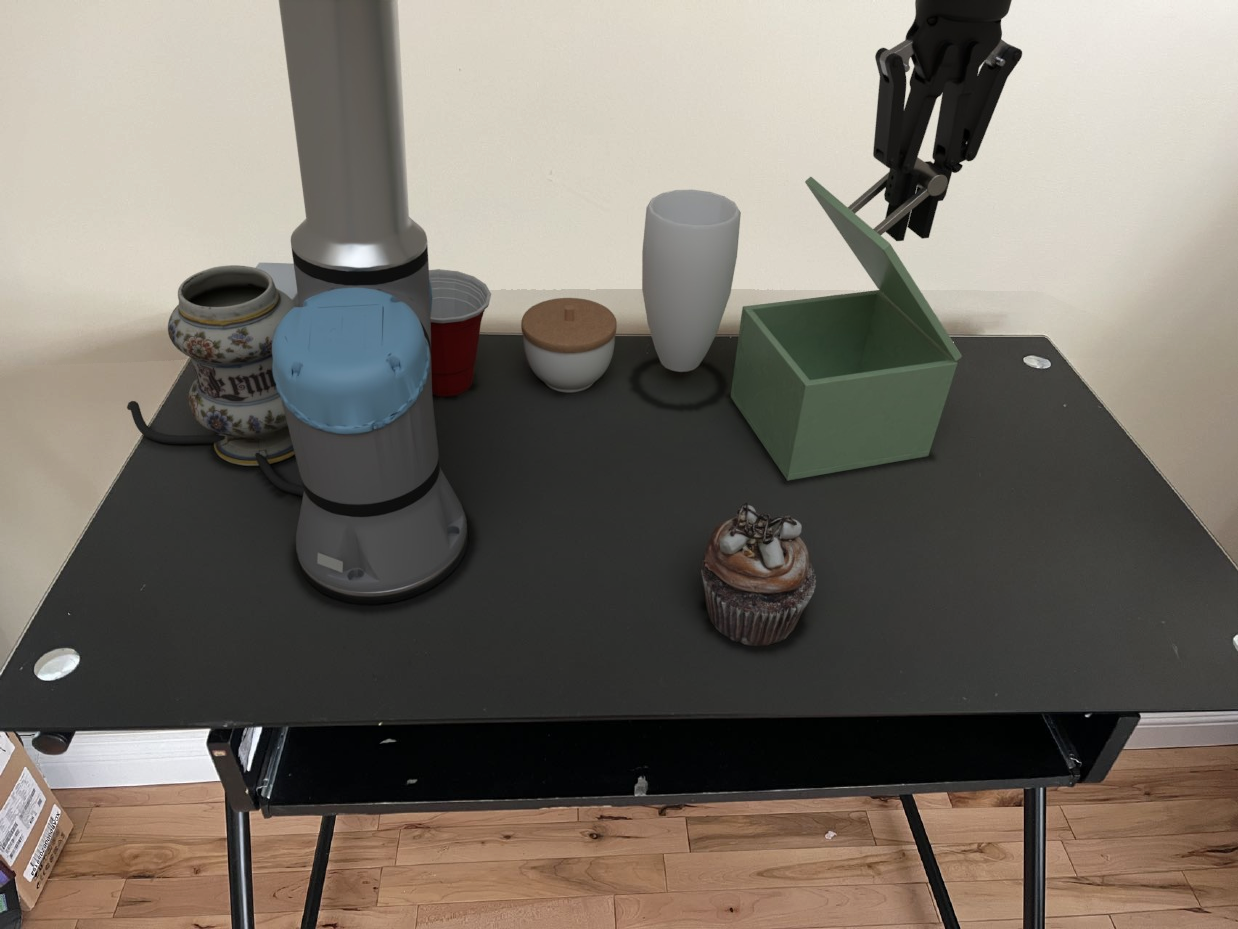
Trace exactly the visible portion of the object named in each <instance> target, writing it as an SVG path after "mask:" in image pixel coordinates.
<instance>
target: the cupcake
mask: <svg viewBox="0 0 1238 929" xmlns="http://www.w3.org/2000/svg"><path fill="white" fill-rule="evenodd" d="M802 526H803V525H802V524H801V523H800V521H799V520H796V519H794V518H792V516H791V515H786V516H777V517H774V518H772V515H770V514H769V513H761V514H759V513H758V512H757V511H756V509H755V508H754V506H752V505H749V502H746V503H743V504H742V505H740V507H739V509H738V510H737V513H736V517H733V518H729V519H726V520H725V521H723V522H721V523H720V524H719V525H717V527H715V529H714V530H713V531H712V532H711V535H710V537H709V539H708V541H707V542H708V543H707V545H706V548H705V550H704V553H703V557H702V565H701V566H702V567H701V571H700V574H701V577H702V584H703V590H704V598H705V606H706V611H707V614H708V618H709V621H710V623H711V624H712V625H713V626H714V627H715V629H716V630H717V631H718V632H719V633H720V634H722V635H723V636H725V637H726V638H728V639H730V640H731V641H733V642H737V643H740V644H742V645H745V646H749V647H765V646H766V647H768V646H771V645H774V644H778V643H780V642H781V641H783V640H786V638H787V637H788V636H789V635H790V634H791V633H792V632H793V631H794V629H795V627H796V626H797V623H798V622H799V620H800V617H801V616H802V614H803V612H804V610H805V608H806V607H807V605H808V604H809V602H810V601H811V598H812V597H813V595H814V593H815V590H816V586H817V585H816V582H817V579H816V577H817V575H816V574H815V573H814V572H815V569H814V568H813V566H812V565H813V563H811V562H810V558H809V556H810V555H809V550H808V547H807V545H806V544H805V542H804V541H803V539H802V538H801V537H800V535H801V533H802Z"/></svg>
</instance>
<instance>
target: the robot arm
mask: <svg viewBox="0 0 1238 929" xmlns="http://www.w3.org/2000/svg"><path fill="white" fill-rule="evenodd" d="M1012 1H1013V0H915V2H914V6H915V16H914V19H913V22H912V23H911V26H910V27H909V28H908V30H907V31H906V34H905V38H904V40H903V41H902V42H900V43H899V44H896V45H895V46H893V47H892V48H890V49H888V48H886V47H880V48H879V49H877V51H876V52H875V55H874V58H875V63H876V67H877V72H878V74H879V82H878V93H877V106H876V114H875V115H876V117H875V128H874V139H873V151H872V156H873V158H874V159H875V160H877V161H878V162H880V163H881V164H882V165H883V166H885V167H886V168H888V169H889V170H888V172H889V175H888V180H887V185H886V188H885V189H884V194H883V196H884V201H886V202H887V203H888V205H887V209H886V212H885V218H884V219H886V218H887V217H888V216H889V215H890V214H892V213H893V212H894V211H895V210H896V209H898V208H899V207H900V206H901V205H902V204H903V203H905V202H906V201H907V200H908V199H909V198H911V197H912V196H913V195H914V194H915V193H917V192H918V191H919V190H920V189H921V188H920V187H918V186H917V185H918V180H919V177H920V174H919V173H918V172H916V171H915V170H913V169H914V166H915V163H916V160H917V157H918V158H919V153H920V151H921V148H922V145H923V141H924V139H925V136H926V133H927V129H928V126H929V123H930V120H931V118H932V114H933V112H934V108H935V105H936V102H937V99H938V98H939V97H941V99H940V106H939V112H938V118H937V125H936V131H935V136H934V142H933V149H932V155H931V156H932V160H933V162H932V161H931V160H930V161H924V162H925V163H927V164H928V165H930V166H931V167H933V168H934V169H936V170H937V171H939V172H940V173H942V174H943V175H944V176H946V178H947V181H948V183H947V187H946V189H945V190H944V191H943V192H942V193H941V194H940V195H937V196H931V195H929V196H927V197H926V198H925V199H924V200H923V201H921V202H920V203H919V204H918V205H917V206H916V207H914V208H913V209H912V210H911V211H910V212H908V213H907V214H906V215H905V216H904V217H902V218H901V219H900V220H899V221H898V222H896V223H895V224H894V225H893V226H892V227H890V228H889V229H888V230H887V231H886V232H885V233H886V234H887V235H889V237H890V238H892V239H893V240H894V241H895V242H904V241H905V237H906V232H907V228H908V229H909V230H910V231H912V232H913V233H914V234H915V235H917V236H918V237H919V238H920V239H922V240H923V239H929V238H930V235H931V231H932V227H933V223H934V219H935V216H936V212H937V209H938V205H939V202H942V201H944V199H945V198H946V197H947V193H948V189H949V185H950V181H951V178H952V174H957V173H959V172H960V171H961V170H962V169H963V164H962V162H965V161H966V162H972V161H974V160H975V159H976V157H977V155H978V154H979V151H980V147H981V145H982V143H983V140H984V138H985V135H986V132H987V130H988V128H989V125H990V123H991V120H992V118H993V115H994V112H995V111H996V110H995V109H997V108H996V107H997V105H998V102H999V100H1000V97H1001V95H1002V93H1003V90H1004V87H1005V85H1006V84H1007V80H1008V78H1009V77H1010V75H1011V74H1012V72H1013V71H1014V69H1015V68H1016V66H1017V65H1018V64H1019V62H1020V61H1021V59H1022V57H1023V51H1022V49H1021V48H1018V47H1016V46H1014V45H1012V44H1010V43H1008V42H1006V41H1004V40H1003V39H1002V36H1003V30H1002V19H1005V17H1006V16H1007V15H1008V13H1009V12H1010V8H1011V5H1012ZM278 6H279V14H280V23H281V29H282V30H281V31H282V37H283V46H284V54H285V61H286V70H287V77H288V78H287V79H288V85H289V93H290V100H291V101H290V102H291V108H292V109H291V110H292V116H293V126H294V132H295V141H296V148H297V149H296V150H297V156H298V165H299V172H300V179H301V180H300V181H301V189H302V196H303V204H304V212H305V219H304V220H303V221H302V222H300V224H299V225H298V226H296V227H295V229H294V230H293V232H292V233H291V235H290V245H291V246H290V248H291V255H292V261H293V263H292V264H294V270H295V278H296V285H297V292H298V301H299V307H294V308H293V309H291V310H290V311H289V312H288V313H287V314H286V315H285V316H284V317H283V319H282V320H281V322H280V323H279V325H278V326H277V328H276V331H275V333H274V337H273V342H272V356H273V365H272V369H273V377H274V380H275V383H276V386H277V391H278V393H279V395H280V397H281V400H282V404H283V408H284V412H285V416H286V420H287V424H288V428H289V432H290V436H291V440H292V445H293V449H294V453H295V455H294V456H295V461H296V465H297V468H298V473H299V476H300V479H301V483H302V485H298V484H293V483H291V482H287V481H286V480H284V479H283V478H282V477H281V476H279V475H278V474H277V472H276V471H275V470H274V468H273V467H272V466H271V464H269V462H268V461H267V459H266V458H265V457H264V456H263V455H261V454H259V453H256V454H255V456H256V460H257V463H258V465H259V466H258V467H259V468H260V470H261V471H262V473H263V474H264V475H265V477H266V478H267V479H268V481H269V482H270V483H271V484H273V486H275V487H276V488H278V489H279V490H281V491H283V492H285V493H287V494H291V495H296V496H301V497H302V500H301V505H300V510H299V516H298V522H297V527H296V532H295V550H296V554H297V560H298V563H299V567H300V569H301V572H302V574H303V575H304V577H305V579H306V581H308V583H309V584H311V586H313V588H315V589H316V590H318V591H319V592H321V594H324V595H326V596H328V597H330V598H333V599H335V600H338V601H341V602H346V603H351V604H361V605H382V604H388V603H389V604H390V603H394V602H399V601H403V600H406V599H409V598H412V597H415V596H418V595H420V594H422V593H425V592H426V591H428V590H430V589H432V588H435V587H436V586H437V585H439V584H440V583H441V582H443V581H444V580H446V579H447V577H449V576H450V575H451V574H452V573H453V572H454V571H455V569H456V568H458V565H459V564H461V561H462V559H463V558H464V556H465V554H466V551H467V547H468V542H469V533H468V523H467V518H466V517H467V516H466V513H465V511H464V508H463V505H462V503H461V501H460V500H459V498H458V496H457V494H456V493H455V491H454V489H453V487H452V486H451V484H450V482H449V480H448V479H447V477H446V475H445V473H444V471H443V470H442V468H441V463H440V455H439V445H438V437H437V428H436V427H437V426H436V418H435V410H434V399H433V394H432V373H431V310H432V286H431V281H430V279H429V270H430V267H429V266H430V265H429V263H430V262H429V249H428V248H429V247H428V245H429V244H428V236H427V233H426V231H425V229H424V228H423V227H422V226H421V225H420V224H419V223H417V222H416V221H415V220H414V219H413V218H411V217H410V213H409V210H410V209H409V195H408V194H409V192H408V175H407V174H408V173H407V153H406V136H405V135H406V134H405V117H404V100H403V99H404V96H403V79H402V78H403V77H402V61H401V59H402V58H401V57H402V56H401V39H400V21H399V2H398V0H278ZM910 59H911V62H912V64H913V69H912V72H911V75H910V78H909V82H908V83H909V93H908V96H907V99H906V93H907V84H908V83H907V75H906V74H907V73H908V72H910V69H911V66H910ZM126 409H127V410H128V411H130V412H131V417H132V420H133V422H134V424H135V427H136V428H137V430H138V431H139V432H140V433H141V434H142V435H143V436H144V437H146V438H148V439H149V440H152V441H155V442H158V443H162V444H168V445H211V444H212V445H214V443H216V442H218V441H221V440H224V439H225V436H222V435H216V434H193V435H189V434H188V435H187V434H186V435H177V434H176V435H175V434H165V433H161V432H158V431H155V430H153V429H151V427H150V426H148V424H147V422H146V421H145V419H144V417H143V414H142V411H141V407H140V405H139V403H138V401H136V400H130V401H129V402H128V403H127V405H126Z"/></svg>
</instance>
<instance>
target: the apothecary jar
mask: <svg viewBox="0 0 1238 929" xmlns="http://www.w3.org/2000/svg"><path fill="white" fill-rule="evenodd" d="M177 299H178V304H177V305H176V306H175V307H174V309H172V312H171V314H170V315H169V319H168V323H167V332H168V337H169V339H170V341H171V343H172V344H173V345H174V347H175V348H176V349H177V350H178V351H180V352H181V353H182V354H183V355H185V356H187V357H189V358H190V361H191V363H192V367H193V371H194V376H195V379H194V381H193V382H192V384H191V386H190V389H189V392H188V407H189V410H190V412H191V414H192V416H193V417H194V419H195V420H196V422H198V423H199V424H200V425H201V426H202V427H204V428H206V429H207V430H208V431H211V432H214V433H216V434H215V435H222V436H225V439H224V440H221V441H218V442H216V443H214V444H213V447H214V452H215V453H216V454H217V455H218V456H219V458H221V459H222V460H224V461H226V462H228V463H230V464H233V465H237V466H242V467H243V466H244V467H260V466H259V465H258V463H257V460H256V456H255V454H256V453H259V454H261V455H263V456H264V457H265V458H266V459H267V461H268V462H269V464H270V465H273V464H278V463H280V462H283V461H286V460H288V459H290V458H291V457H293V456H295V453H294V449H293V445H292V440H291V436H290V432H289V428H288V424H287V420H286V416H285V412H284V408H283V404H282V400H281V397H280V395H279V393H278V391H277V386H276V383H275V380H274V377H273V369H272V365H273V356H272V342H273V337H274V333H275V331H276V328H277V326H278V325H279V323H280V322H281V320H282V319H283V317H284V316H285V315H286V314H287V313H288V312H289V311H290V310H291V309H293V308H294V307H296V305H295V303H294V302H293V301H292V299H291V298H290V297H289V296H287V295H286V294H285V293H283V292H282V291H280V290H278V289H276V287H275V284H274V281H273V279H272V278H271V276H270V275H269V274H268V273H266V272H265V271H263V270H260V269H258V268H256V267H254V266H248V265H247V266H246V265H235V264H233V265H220V266H214V267H210V268H207V269H203V270H201V271H198V272H196V273H194V274H192V275H191V276H189V277H187V278H186V279H185V280H183V281H182V283H181V284H180V285H179V287H178V289H177Z"/></svg>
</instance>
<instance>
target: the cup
mask: <svg viewBox="0 0 1238 929" xmlns="http://www.w3.org/2000/svg"><path fill="white" fill-rule="evenodd" d="M741 214H742V212H741V210H740V209H739V207H738V205H737V204H736V202H735V201H733V200H731V199H730V198H728V197H726V196H725V195H722V194H718V193H715V192H713V191H707V190H700V189H699V190H698V189H675V190H670V191H664V192H662V193H659V194H658V195H656V196H654V197H652V198H651V199H650V201H648V204H647V206H646V210H645V219H644V229H643V240H642V254H641V255H642V256H641V258H642V260H641V261H642V262H641V264H642V265H641V285H642V286H641V291H642V297H643V303H644V308H645V315H646V321H647V327H648V329H649V333H650V337H651V340H652V343H653V347H654V349H655V352H656V355H657V357H658V360H659V362H660V364H661V365H662V367H664V368H665V369H668V370H670V371H673V372H678V373H683V372H685V373H686V372H690V371H693V370H695V369H697V368H698V367H699V366H700V365H701V363H702V362H703V360H704V358H705V357H706V355H707V354H708V352H709V350H710V348H711V346H712V344H713V341H714V340H715V338H716V336H717V334H718V332H719V331H718V330H719V328H720V325H721V322H722V320H723V316H724V313H725V311H726V308H727V305H728V302H729V299H730V296H731V292H732V287H733V281H734V274H735V270H736V264H737V259H738V250H739V249H738V248H739V240H740V239H739V237H740V227H741V226H740V225H741V217H742V216H741Z"/></svg>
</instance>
